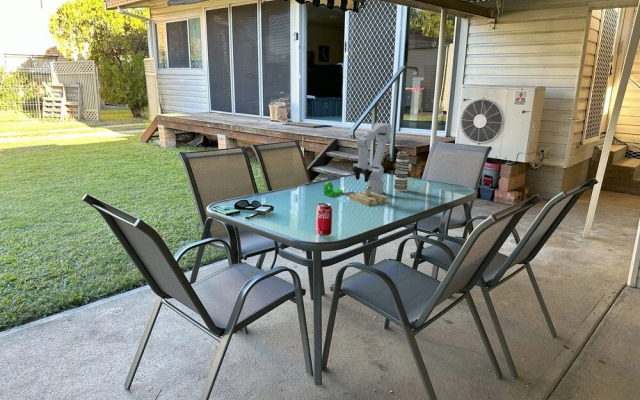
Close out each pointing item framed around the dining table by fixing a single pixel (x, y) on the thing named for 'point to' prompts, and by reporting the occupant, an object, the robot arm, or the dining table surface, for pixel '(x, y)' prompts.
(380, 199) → the socket block
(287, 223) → the dining table surface
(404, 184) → the grey striped cylinder
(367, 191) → the pin
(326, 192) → the mechanical part
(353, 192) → the mat
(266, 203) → the dining table surface
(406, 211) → the dining table surface
